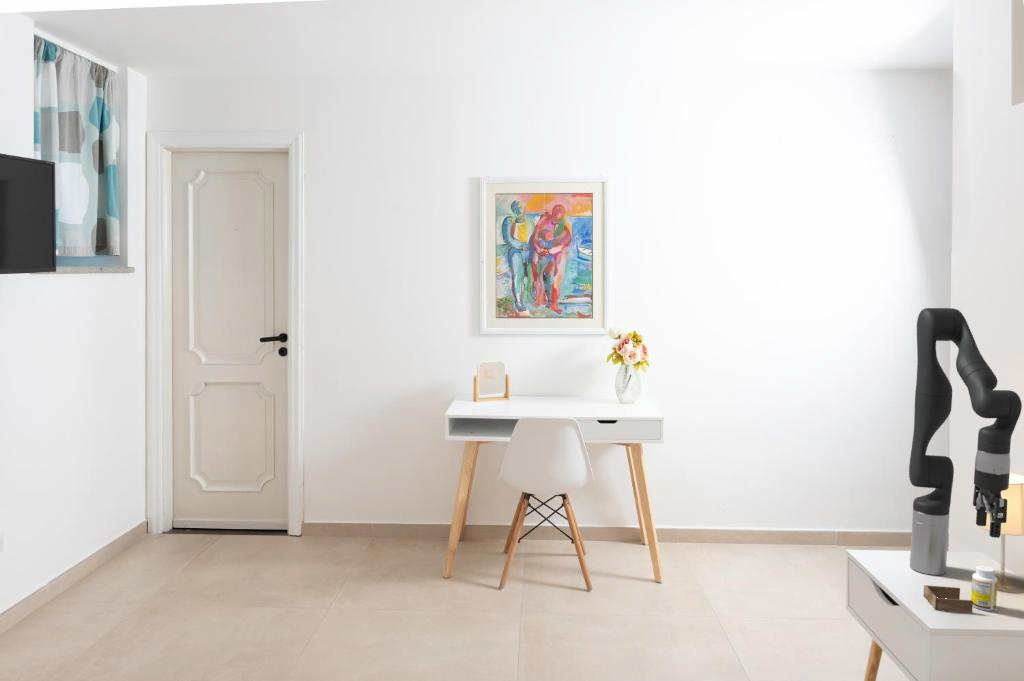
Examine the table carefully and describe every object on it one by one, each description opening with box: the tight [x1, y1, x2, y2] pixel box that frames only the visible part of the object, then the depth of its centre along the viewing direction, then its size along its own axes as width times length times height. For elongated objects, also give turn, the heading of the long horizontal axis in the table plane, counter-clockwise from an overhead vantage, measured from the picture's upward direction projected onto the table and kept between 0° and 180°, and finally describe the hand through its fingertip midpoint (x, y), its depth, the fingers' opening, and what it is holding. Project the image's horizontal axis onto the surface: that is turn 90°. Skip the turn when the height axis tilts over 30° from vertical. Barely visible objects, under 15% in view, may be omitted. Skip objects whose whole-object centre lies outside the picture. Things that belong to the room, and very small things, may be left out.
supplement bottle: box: [970, 565, 998, 612], centre depth 201 cm, size 6×6×10 cm
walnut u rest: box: [923, 584, 974, 614], centre depth 202 cm, size 9×9×3 cm
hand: (987, 531), depth 199 cm, fingers open, 8 cm apart
